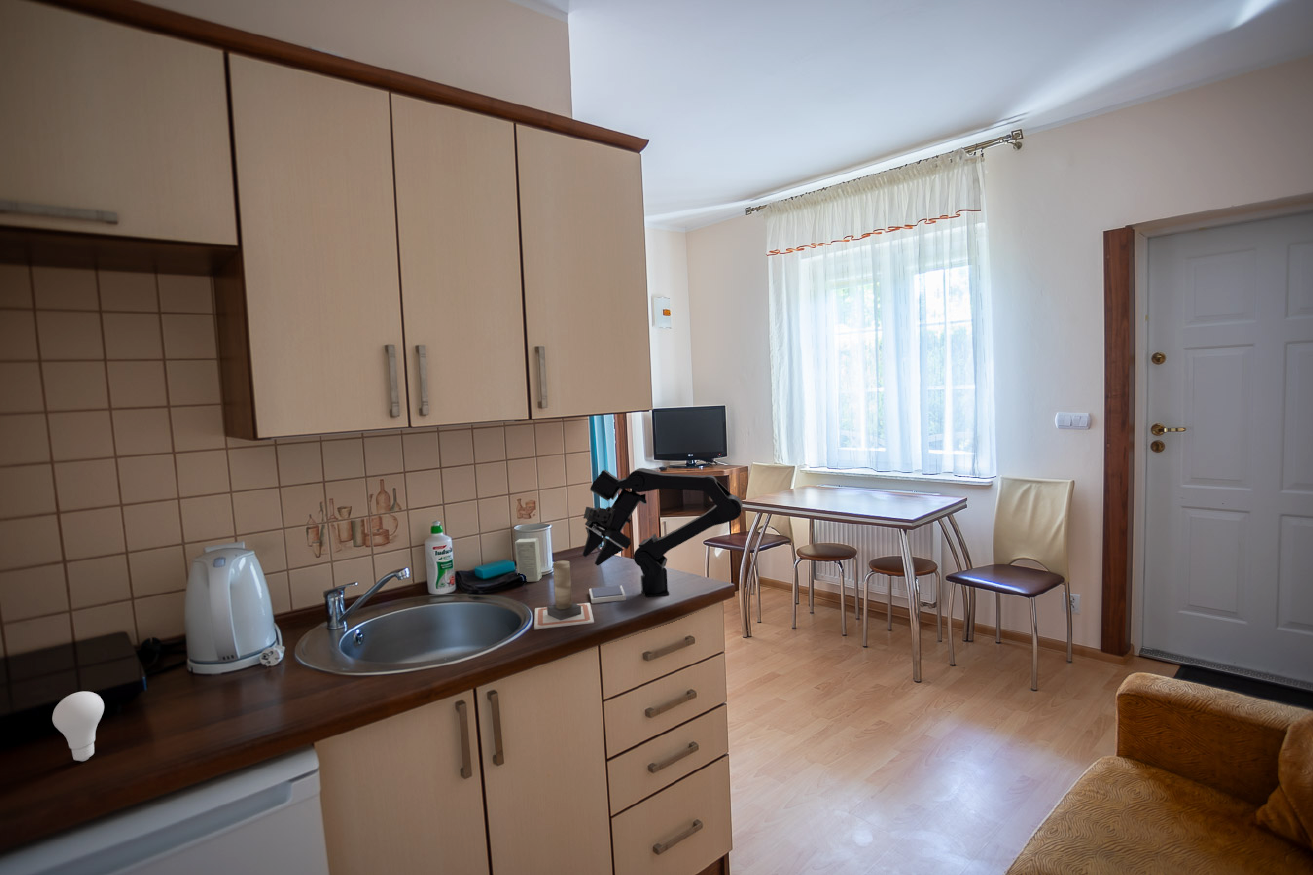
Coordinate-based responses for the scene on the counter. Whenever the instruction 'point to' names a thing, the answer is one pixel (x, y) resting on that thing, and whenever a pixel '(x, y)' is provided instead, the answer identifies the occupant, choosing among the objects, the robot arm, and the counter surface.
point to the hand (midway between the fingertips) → (589, 560)
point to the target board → (548, 621)
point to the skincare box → (528, 558)
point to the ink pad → (607, 594)
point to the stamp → (563, 593)
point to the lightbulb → (79, 722)
